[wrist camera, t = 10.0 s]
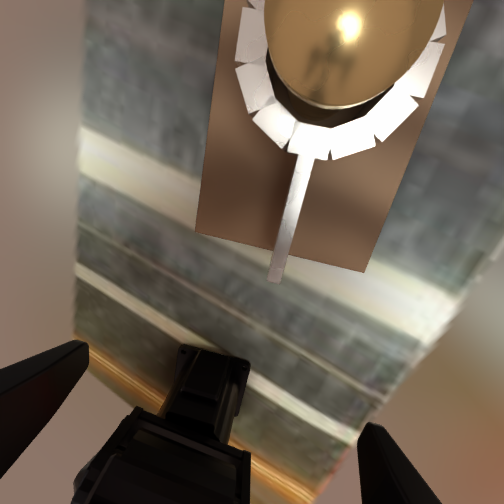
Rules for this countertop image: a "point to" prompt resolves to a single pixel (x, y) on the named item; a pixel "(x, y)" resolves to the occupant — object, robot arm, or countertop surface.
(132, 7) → the countertop surface
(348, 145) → the hinge
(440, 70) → the walnut board
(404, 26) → the hinge pin
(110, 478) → the robot arm
